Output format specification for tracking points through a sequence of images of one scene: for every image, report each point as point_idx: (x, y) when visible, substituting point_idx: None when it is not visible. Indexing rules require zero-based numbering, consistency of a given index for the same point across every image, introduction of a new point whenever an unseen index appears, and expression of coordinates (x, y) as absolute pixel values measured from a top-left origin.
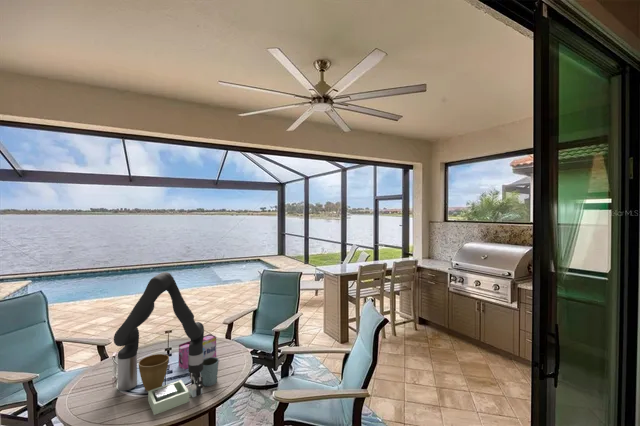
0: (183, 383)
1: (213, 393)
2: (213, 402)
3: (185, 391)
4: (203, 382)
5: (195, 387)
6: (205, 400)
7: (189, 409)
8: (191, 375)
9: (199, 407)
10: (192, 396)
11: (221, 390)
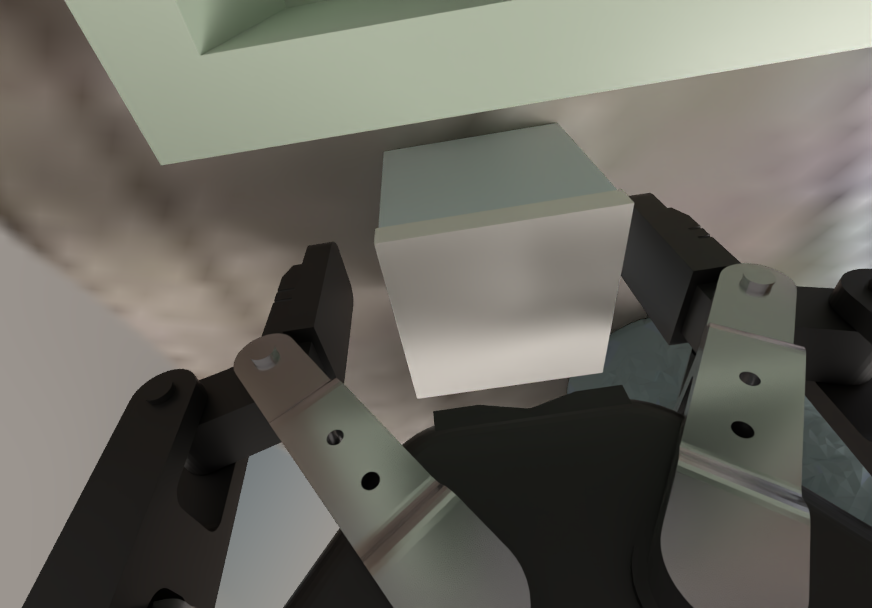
0: (851, 44)
1: (385, 383)
2: (187, 366)
3: (269, 40)
4: (650, 357)
5: (439, 304)
6: (264, 304)
7: (28, 45)
8: (717, 550)
9: (87, 217)
10: (388, 168)
11: (402, 436)
